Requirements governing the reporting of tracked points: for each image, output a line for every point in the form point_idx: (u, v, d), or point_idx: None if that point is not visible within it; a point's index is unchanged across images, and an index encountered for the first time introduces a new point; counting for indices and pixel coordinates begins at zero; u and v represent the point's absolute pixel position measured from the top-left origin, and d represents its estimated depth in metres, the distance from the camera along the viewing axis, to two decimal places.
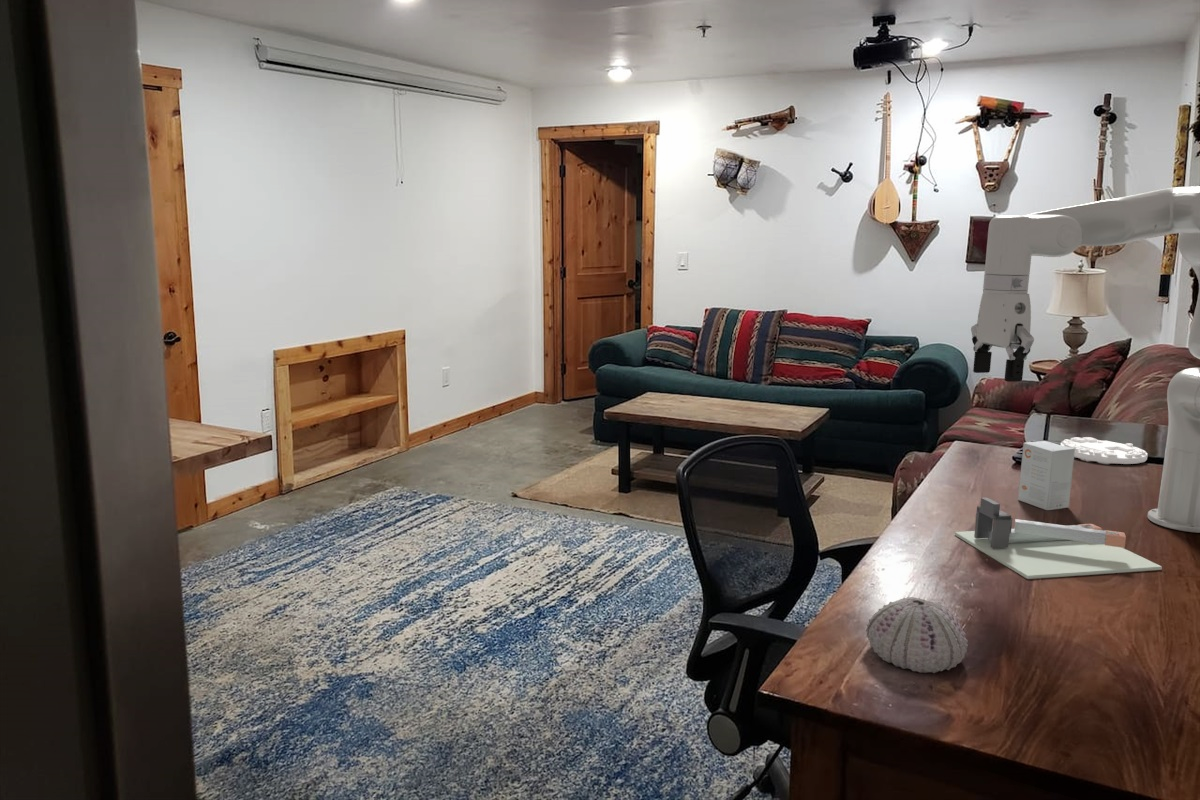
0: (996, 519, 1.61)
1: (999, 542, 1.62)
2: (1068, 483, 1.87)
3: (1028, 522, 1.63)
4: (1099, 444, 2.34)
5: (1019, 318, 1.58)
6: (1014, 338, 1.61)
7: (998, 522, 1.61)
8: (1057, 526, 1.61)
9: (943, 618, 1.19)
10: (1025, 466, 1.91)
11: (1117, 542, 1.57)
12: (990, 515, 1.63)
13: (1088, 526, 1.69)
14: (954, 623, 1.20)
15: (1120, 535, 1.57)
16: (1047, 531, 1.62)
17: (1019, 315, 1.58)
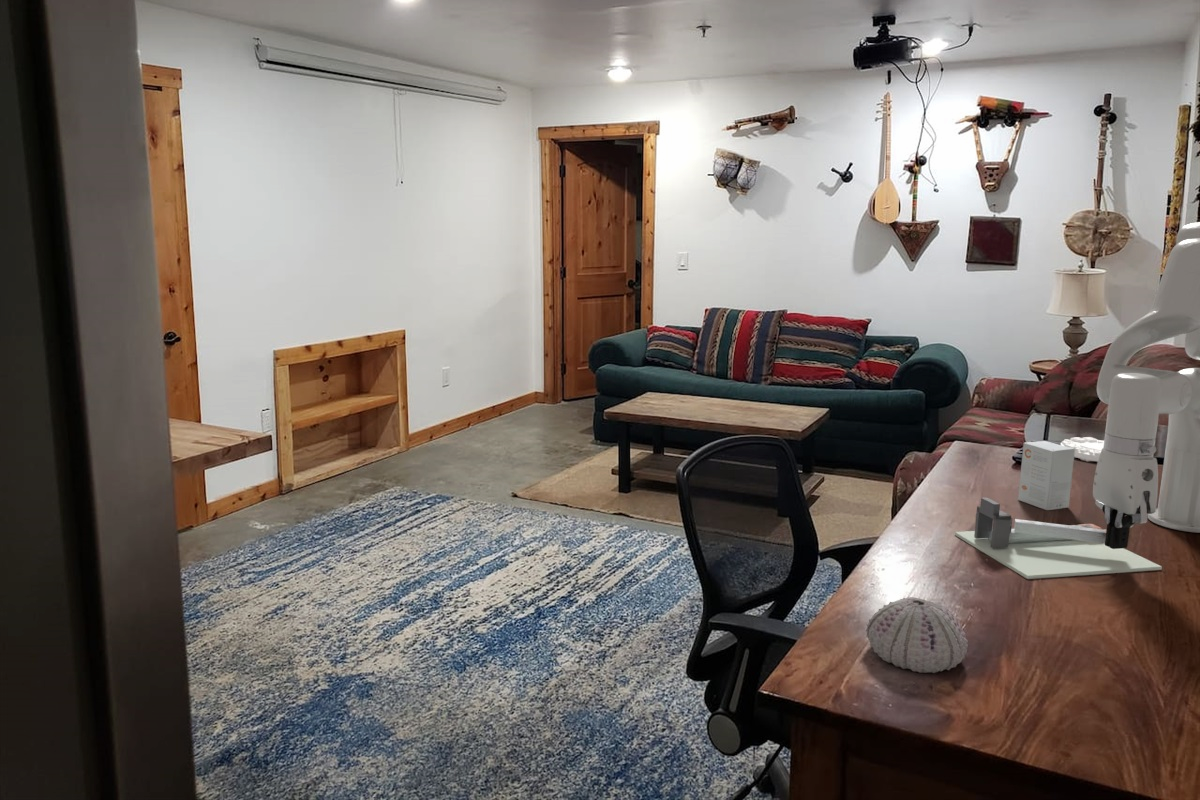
0: (996, 519, 1.61)
1: (999, 542, 1.62)
2: (1068, 483, 1.87)
3: (1028, 522, 1.64)
4: (1099, 444, 2.34)
5: (1147, 485, 1.49)
6: None
7: (998, 522, 1.61)
8: (1057, 525, 1.62)
9: (943, 618, 1.19)
10: (1025, 466, 1.91)
11: None
12: (990, 515, 1.63)
13: (1088, 526, 1.69)
14: (954, 623, 1.20)
15: None
16: (1047, 531, 1.62)
17: (1146, 482, 1.49)
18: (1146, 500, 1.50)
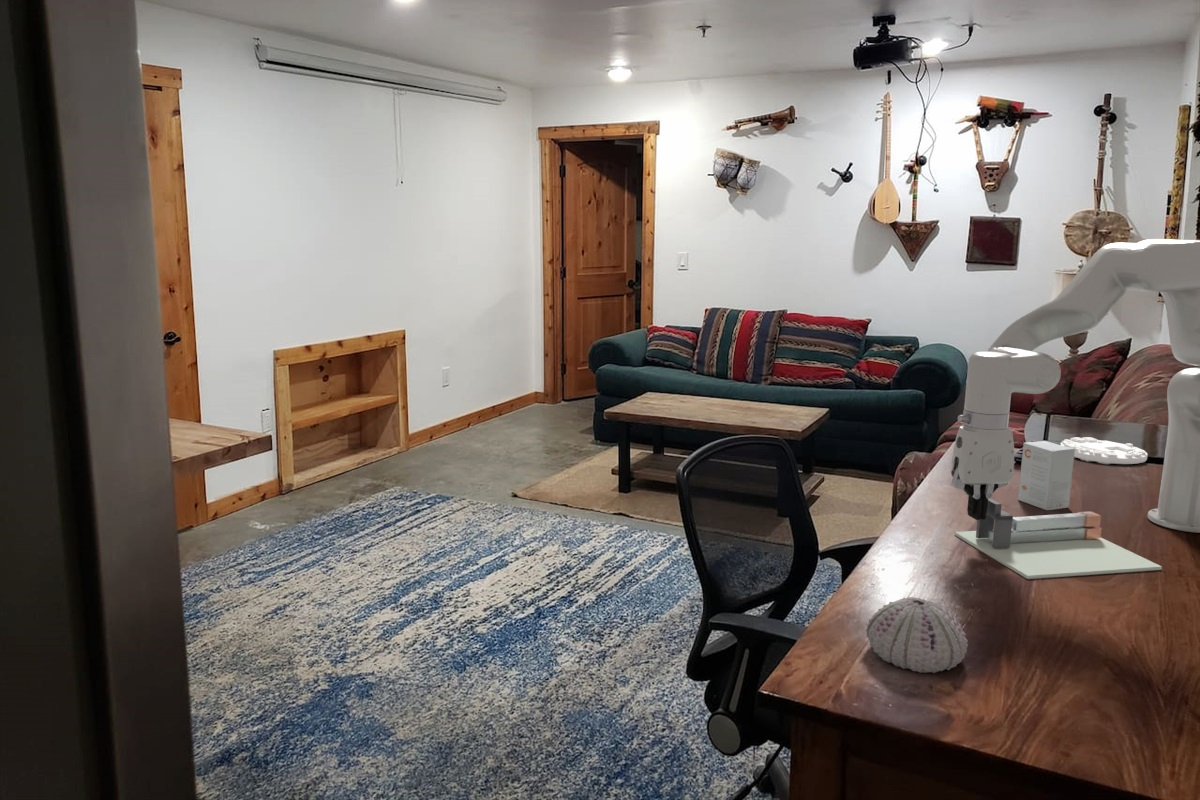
0: (998, 519, 1.61)
1: (1001, 542, 1.62)
2: (1068, 483, 1.87)
3: (1024, 518, 1.66)
4: (1099, 444, 2.34)
5: (957, 451, 1.60)
6: None
7: (999, 522, 1.61)
8: (1047, 517, 1.66)
9: (943, 618, 1.19)
10: (1025, 466, 1.91)
11: (1095, 522, 1.68)
12: (992, 515, 1.63)
13: None
14: (954, 623, 1.20)
15: (1095, 514, 1.68)
16: (1042, 524, 1.66)
17: (957, 449, 1.60)
18: None
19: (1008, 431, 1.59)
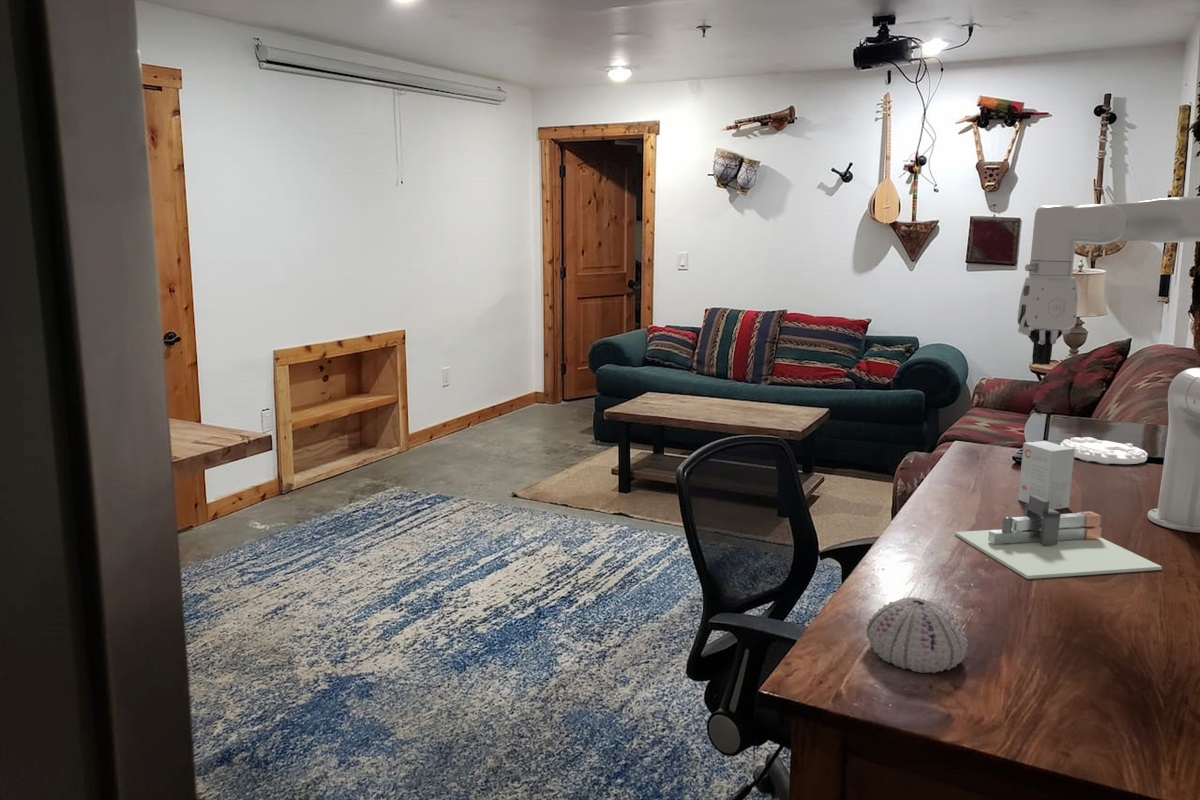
0: (1046, 516, 1.63)
1: (1048, 539, 1.64)
2: (1068, 483, 1.87)
3: (1024, 518, 1.66)
4: (1099, 444, 2.34)
5: (1024, 299, 1.72)
6: None
7: (1047, 519, 1.63)
8: None
9: (943, 618, 1.19)
10: (1025, 466, 1.91)
11: (1095, 522, 1.68)
12: (1039, 512, 1.65)
13: None
14: (954, 623, 1.20)
15: (1095, 514, 1.68)
16: None
17: (1024, 297, 1.72)
18: None
19: (1072, 279, 1.71)
